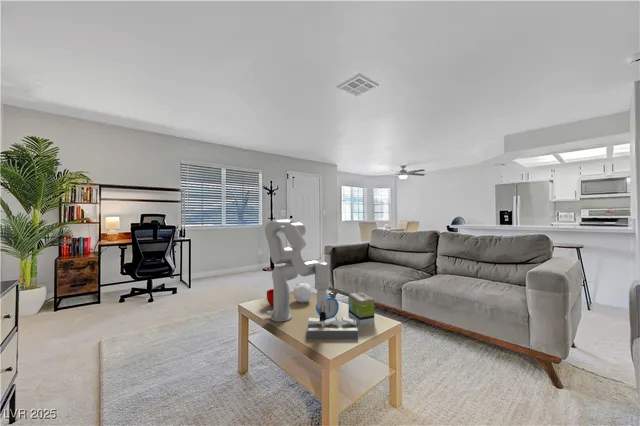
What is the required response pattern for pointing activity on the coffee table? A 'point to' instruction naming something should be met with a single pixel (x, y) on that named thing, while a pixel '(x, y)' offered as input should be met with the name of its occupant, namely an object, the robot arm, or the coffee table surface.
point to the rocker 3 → (349, 320)
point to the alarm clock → (330, 306)
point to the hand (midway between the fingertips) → (322, 319)
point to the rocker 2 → (331, 320)
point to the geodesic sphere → (302, 292)
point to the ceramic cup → (270, 297)
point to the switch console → (332, 331)
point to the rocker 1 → (315, 320)
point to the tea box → (361, 308)
